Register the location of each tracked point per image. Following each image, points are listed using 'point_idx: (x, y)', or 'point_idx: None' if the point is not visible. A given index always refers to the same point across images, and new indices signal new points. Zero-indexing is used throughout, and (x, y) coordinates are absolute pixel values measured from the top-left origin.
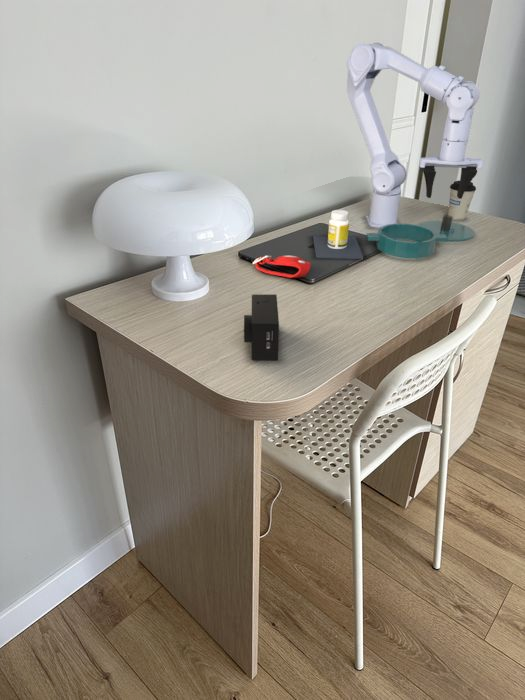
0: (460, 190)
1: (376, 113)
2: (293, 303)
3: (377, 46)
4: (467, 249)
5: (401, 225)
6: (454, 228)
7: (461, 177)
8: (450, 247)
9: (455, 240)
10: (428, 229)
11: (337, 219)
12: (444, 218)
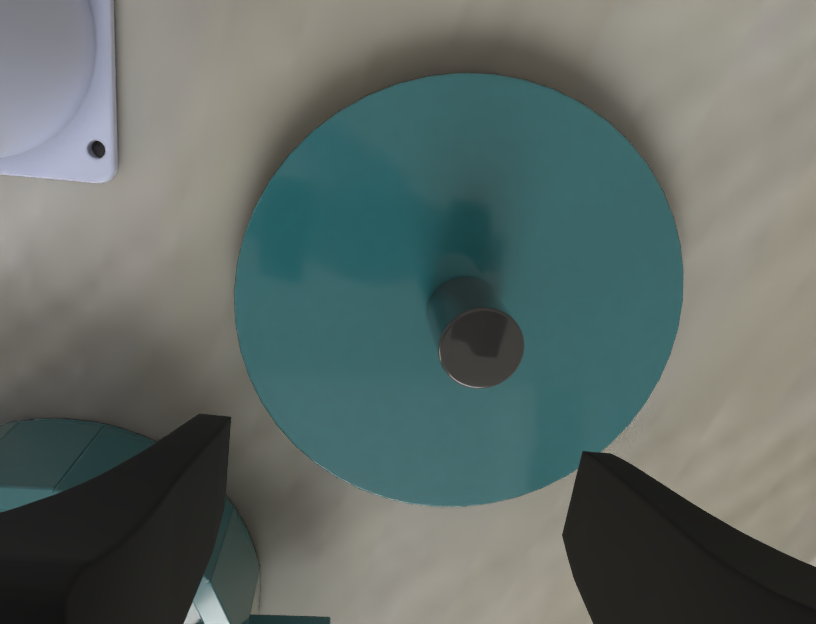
0: (601, 578)
1: None
2: None
3: None
4: (489, 577)
5: (5, 505)
6: (551, 286)
7: (705, 606)
8: (395, 547)
9: (454, 502)
10: (206, 615)
11: None
12: (441, 365)
